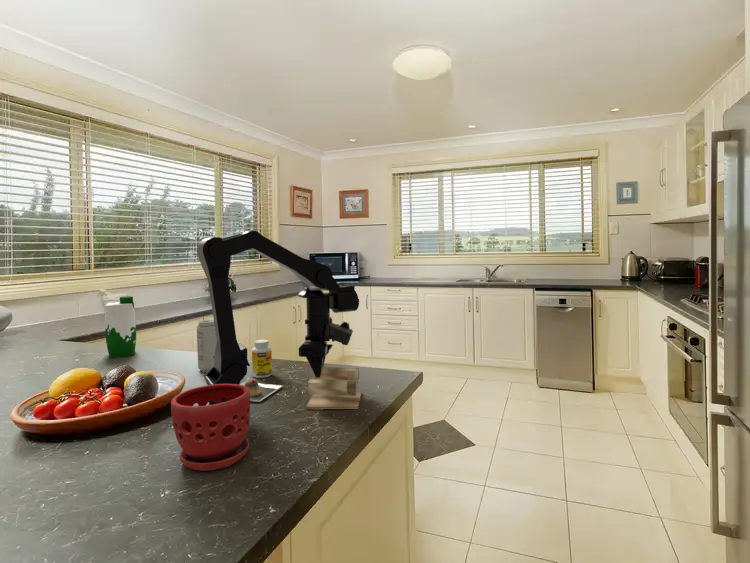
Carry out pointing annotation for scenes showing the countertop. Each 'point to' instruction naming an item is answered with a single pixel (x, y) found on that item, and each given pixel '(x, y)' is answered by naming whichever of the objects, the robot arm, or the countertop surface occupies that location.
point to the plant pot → (212, 425)
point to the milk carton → (120, 327)
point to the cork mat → (334, 401)
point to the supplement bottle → (261, 359)
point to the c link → (335, 382)
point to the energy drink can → (206, 344)
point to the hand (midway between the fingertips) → (319, 375)
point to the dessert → (255, 389)
